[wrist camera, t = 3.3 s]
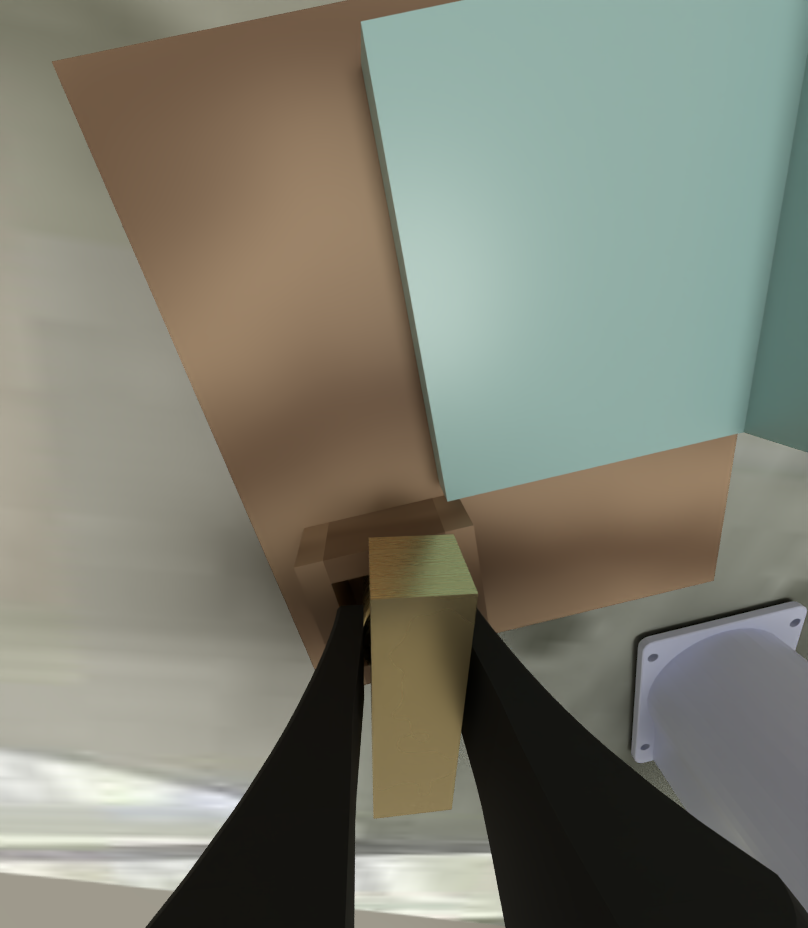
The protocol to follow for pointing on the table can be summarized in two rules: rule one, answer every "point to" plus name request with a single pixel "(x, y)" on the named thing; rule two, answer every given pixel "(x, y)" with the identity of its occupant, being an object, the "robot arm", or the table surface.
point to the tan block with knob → (417, 668)
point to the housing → (343, 333)
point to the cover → (596, 225)
